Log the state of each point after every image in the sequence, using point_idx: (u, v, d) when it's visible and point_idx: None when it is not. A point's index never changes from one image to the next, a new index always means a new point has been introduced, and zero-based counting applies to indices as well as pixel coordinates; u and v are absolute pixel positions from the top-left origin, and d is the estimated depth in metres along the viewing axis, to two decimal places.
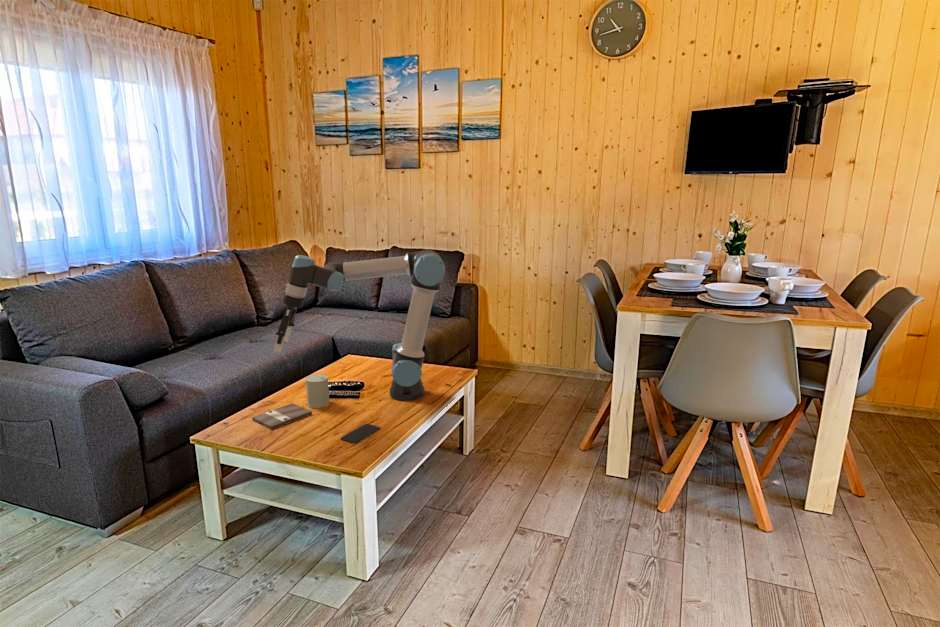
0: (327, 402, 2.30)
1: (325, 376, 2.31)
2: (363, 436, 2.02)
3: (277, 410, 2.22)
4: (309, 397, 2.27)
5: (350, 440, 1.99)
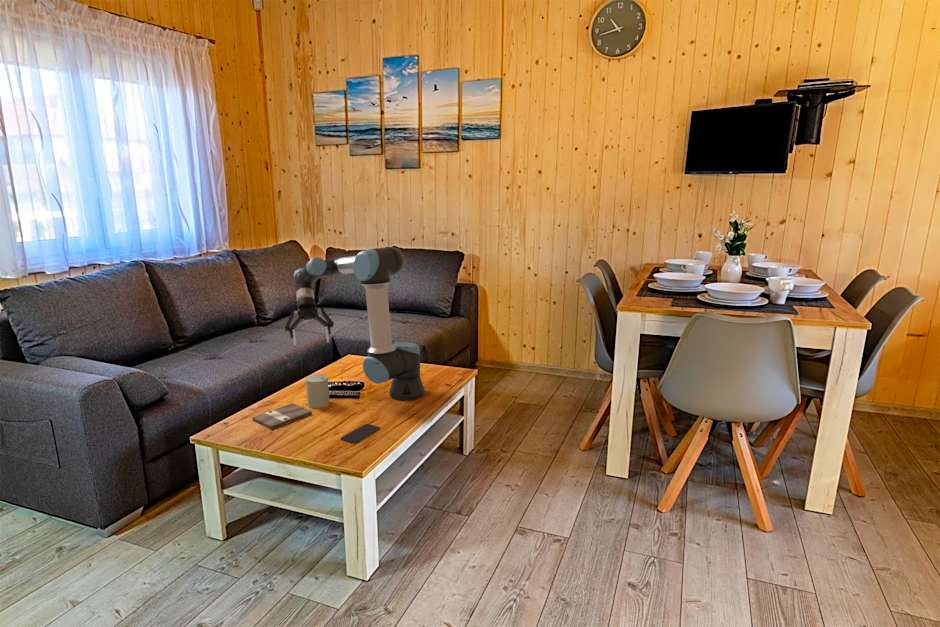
0: (327, 402, 2.30)
1: (325, 376, 2.31)
2: (363, 436, 2.02)
3: (277, 410, 2.22)
4: (309, 397, 2.27)
5: (350, 440, 1.99)
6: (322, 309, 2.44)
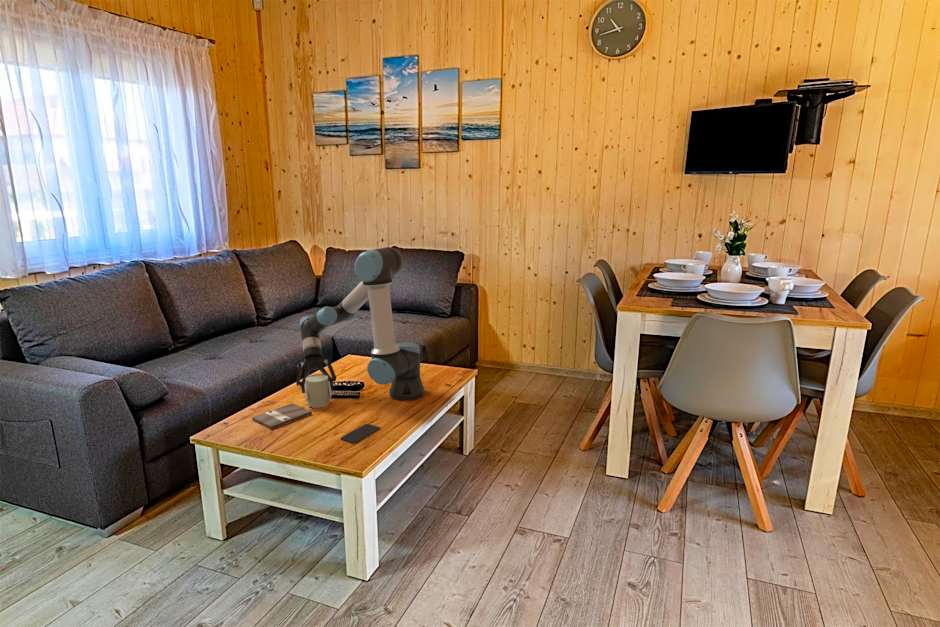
0: (327, 402, 2.30)
1: (325, 376, 2.31)
2: (363, 436, 2.02)
3: (277, 410, 2.22)
4: (309, 397, 2.27)
5: (350, 440, 1.99)
6: (329, 360, 2.36)
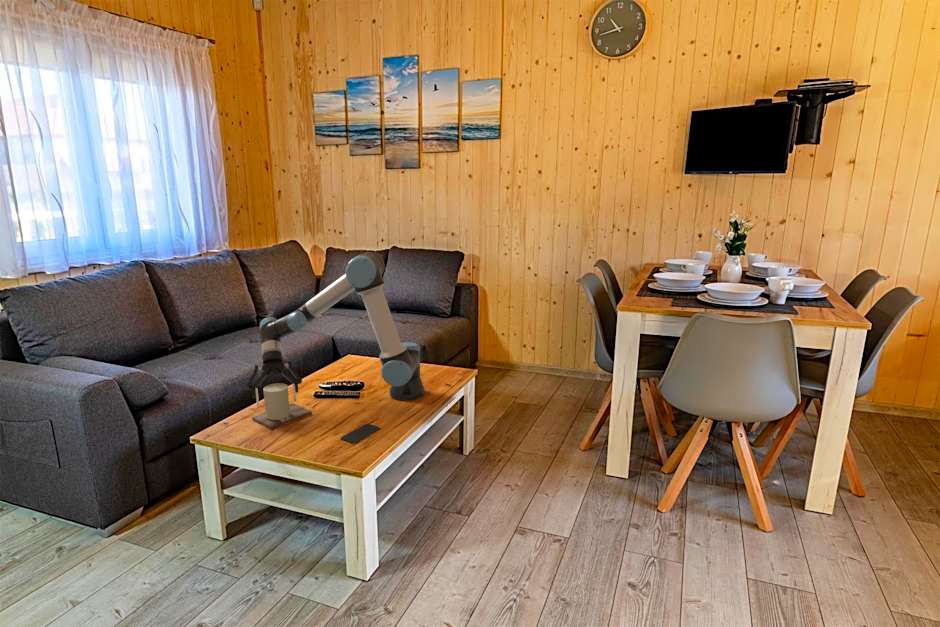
0: (287, 413, 2.15)
1: (285, 385, 2.16)
2: (363, 436, 2.02)
3: None
4: (267, 408, 2.12)
5: (350, 440, 1.99)
6: (289, 364, 2.22)
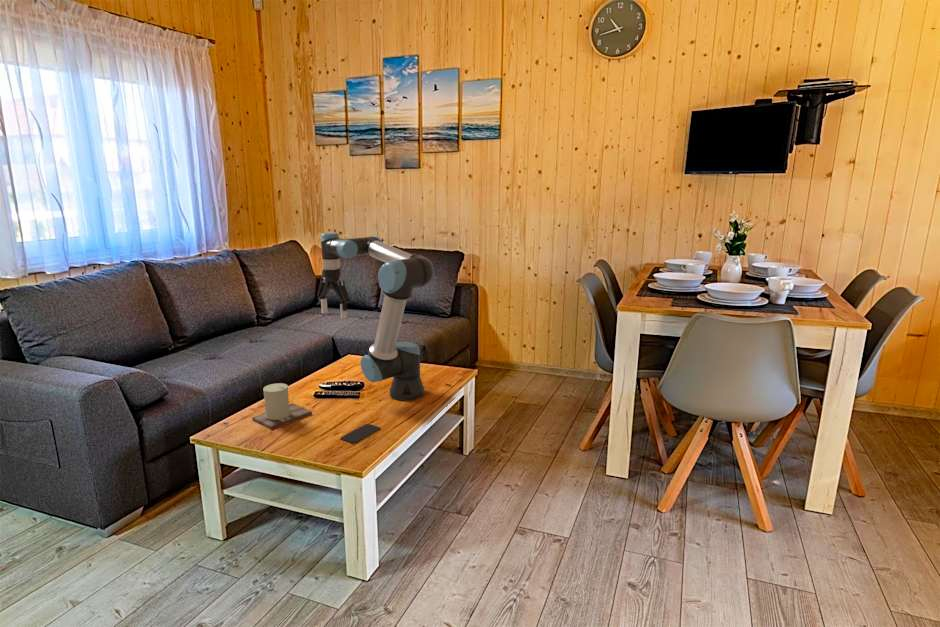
0: (287, 413, 2.15)
1: (285, 385, 2.16)
2: (363, 436, 2.02)
3: None
4: (267, 408, 2.12)
5: (350, 440, 1.99)
6: (339, 283, 2.40)
